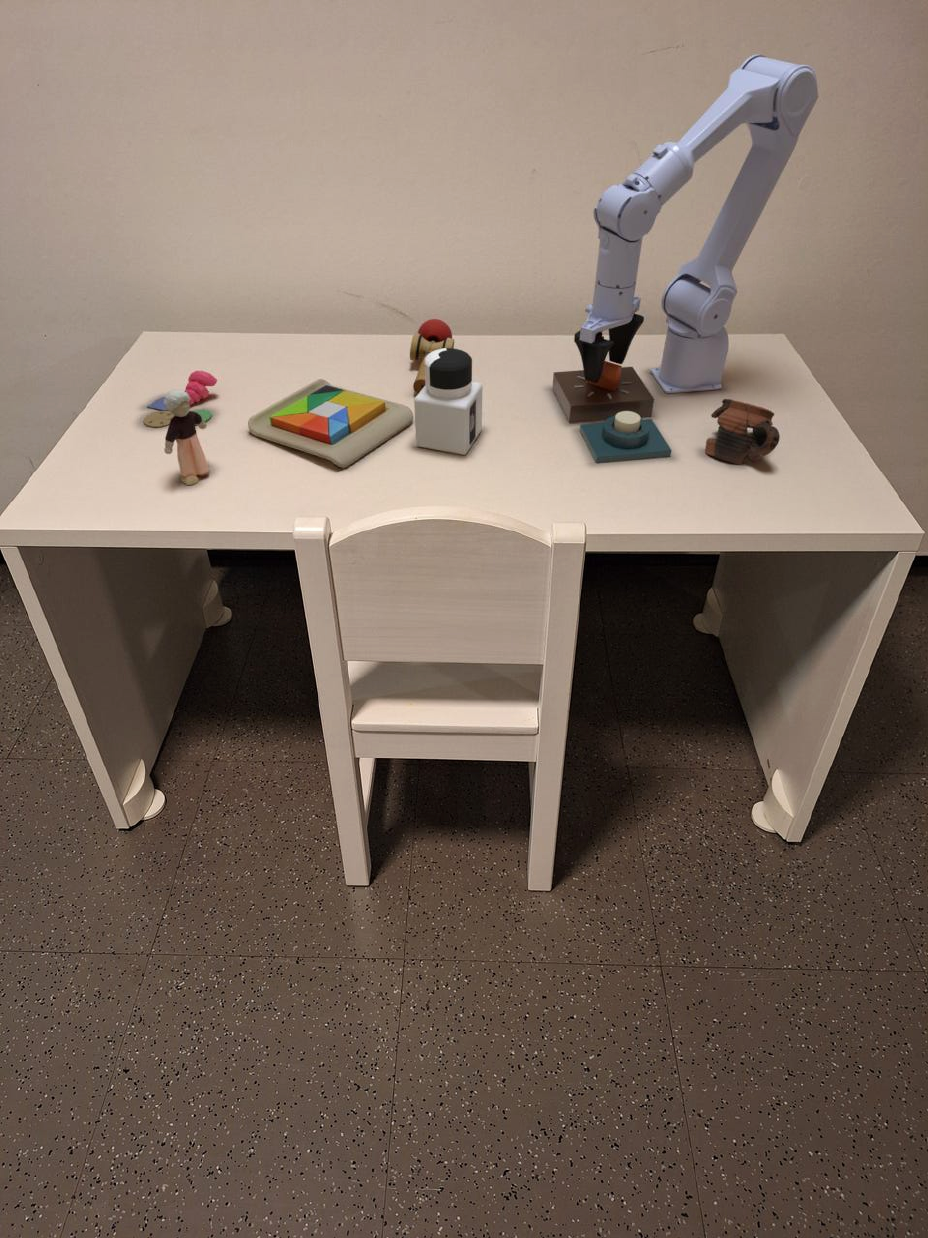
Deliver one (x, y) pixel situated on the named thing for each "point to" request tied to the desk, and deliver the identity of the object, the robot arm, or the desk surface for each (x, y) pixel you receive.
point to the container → (448, 403)
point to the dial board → (600, 396)
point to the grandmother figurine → (185, 437)
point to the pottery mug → (742, 432)
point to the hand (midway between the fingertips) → (604, 371)
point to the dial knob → (609, 376)
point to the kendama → (429, 345)
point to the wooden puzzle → (331, 422)
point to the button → (627, 422)
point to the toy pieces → (195, 392)
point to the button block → (624, 442)
